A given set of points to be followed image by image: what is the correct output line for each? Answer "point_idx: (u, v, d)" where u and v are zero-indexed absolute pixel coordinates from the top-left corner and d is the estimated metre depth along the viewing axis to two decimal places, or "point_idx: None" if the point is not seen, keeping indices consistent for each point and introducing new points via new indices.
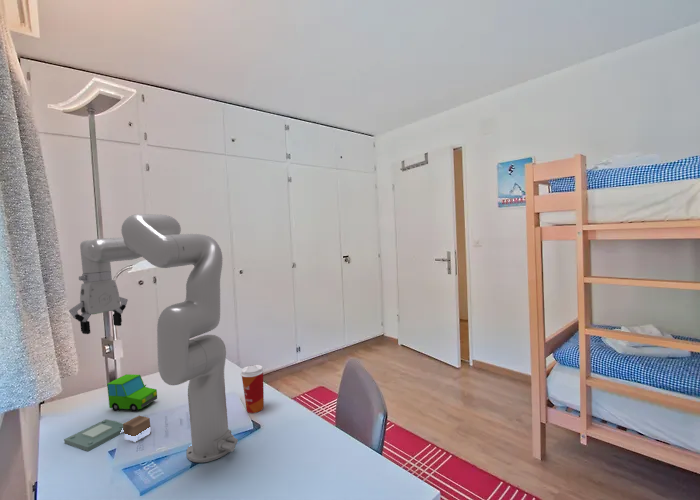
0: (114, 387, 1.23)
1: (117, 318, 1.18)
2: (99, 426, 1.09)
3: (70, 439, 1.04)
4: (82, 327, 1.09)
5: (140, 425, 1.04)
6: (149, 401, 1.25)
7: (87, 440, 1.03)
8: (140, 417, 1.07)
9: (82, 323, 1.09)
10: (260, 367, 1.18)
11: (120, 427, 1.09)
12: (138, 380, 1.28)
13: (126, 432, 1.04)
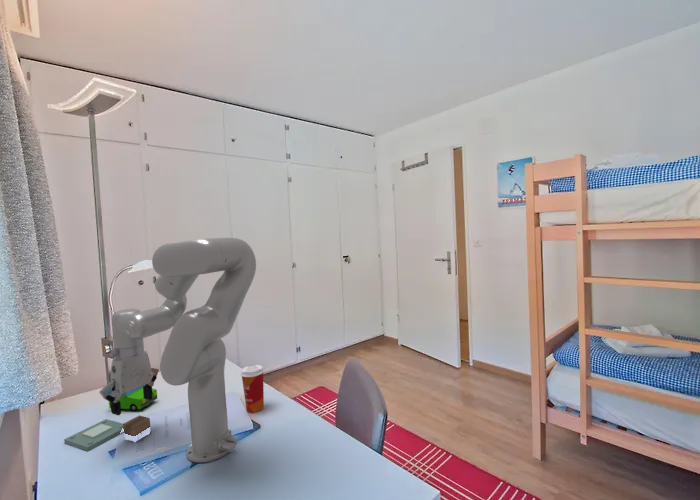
0: None
1: (148, 392, 1.09)
2: (99, 426, 1.09)
3: (70, 439, 1.04)
4: (112, 408, 1.00)
5: (140, 425, 1.04)
6: (149, 401, 1.25)
7: (87, 440, 1.03)
8: (140, 417, 1.07)
9: (112, 403, 1.00)
10: (260, 367, 1.18)
11: (120, 427, 1.09)
12: None
13: (126, 432, 1.04)
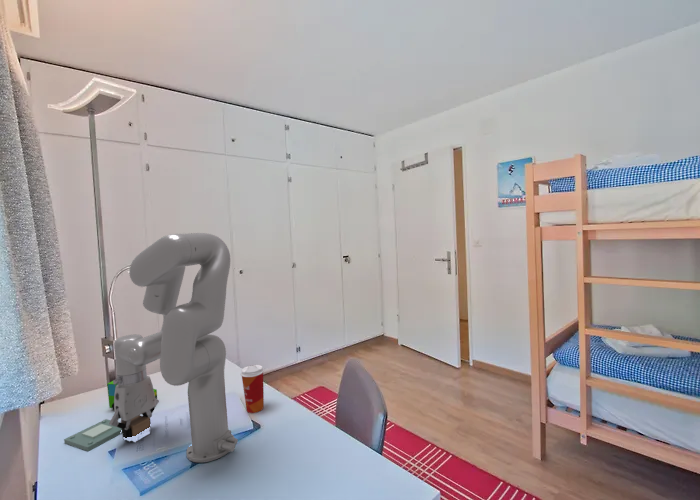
0: (114, 387, 1.23)
1: None
2: (99, 426, 1.09)
3: (70, 439, 1.04)
4: (124, 435, 1.02)
5: (140, 425, 1.04)
6: None
7: (87, 440, 1.03)
8: (140, 417, 1.07)
9: (124, 430, 1.02)
10: (260, 367, 1.18)
11: None
12: None
13: None
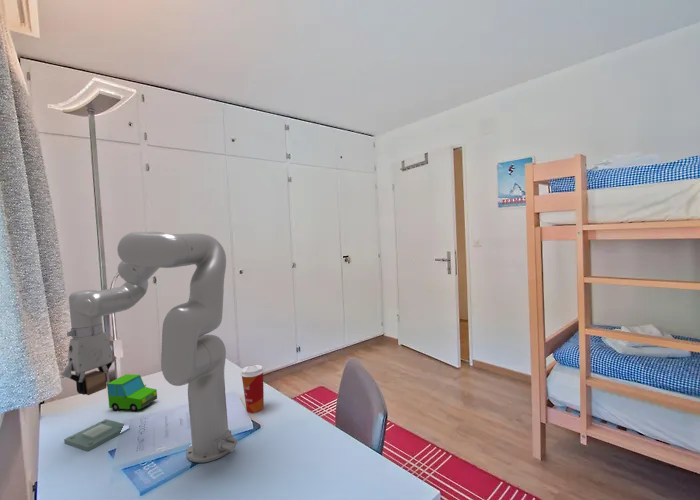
0: (114, 387, 1.23)
1: None
2: (99, 426, 1.09)
3: (70, 439, 1.04)
4: (78, 387, 1.03)
5: (95, 378, 1.05)
6: (149, 401, 1.25)
7: (87, 440, 1.03)
8: (96, 371, 1.08)
9: (78, 383, 1.03)
10: (260, 367, 1.18)
11: (120, 427, 1.09)
12: (138, 380, 1.28)
13: None
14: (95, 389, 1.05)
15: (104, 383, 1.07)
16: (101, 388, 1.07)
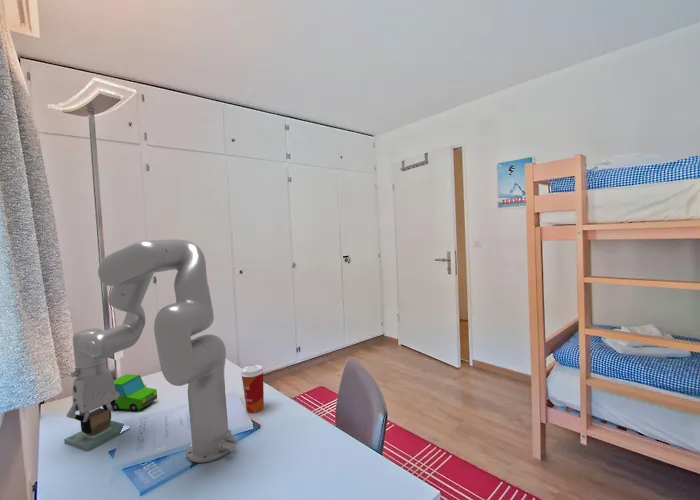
0: None
1: None
2: None
3: (70, 439, 1.04)
4: (82, 427, 1.04)
5: (99, 417, 1.06)
6: (149, 401, 1.25)
7: (87, 440, 1.03)
8: (100, 409, 1.09)
9: (82, 423, 1.03)
10: (260, 367, 1.18)
11: (120, 427, 1.09)
12: (138, 380, 1.28)
13: None
14: (99, 428, 1.06)
15: (108, 421, 1.08)
16: (105, 426, 1.07)
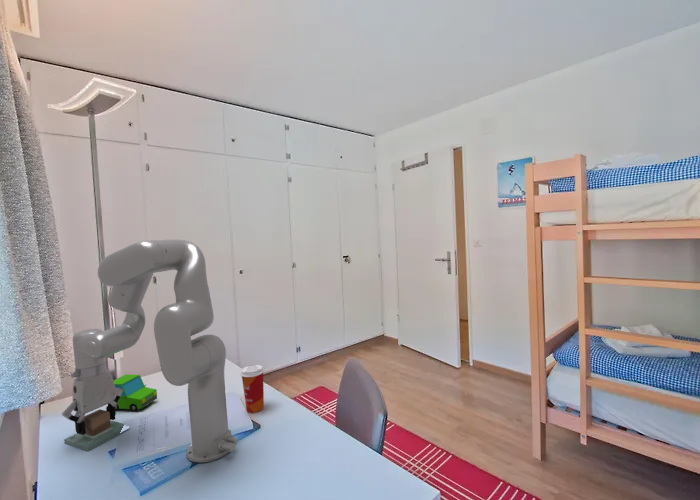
0: None
1: (111, 412, 1.10)
2: None
3: (70, 439, 1.04)
4: (77, 428, 1.02)
5: (99, 418, 1.06)
6: (149, 401, 1.25)
7: (87, 440, 1.03)
8: (100, 411, 1.09)
9: (77, 423, 1.02)
10: (260, 367, 1.18)
11: (120, 427, 1.09)
12: (138, 380, 1.28)
13: (85, 425, 1.05)
14: (100, 429, 1.06)
15: (108, 422, 1.08)
16: (106, 428, 1.07)
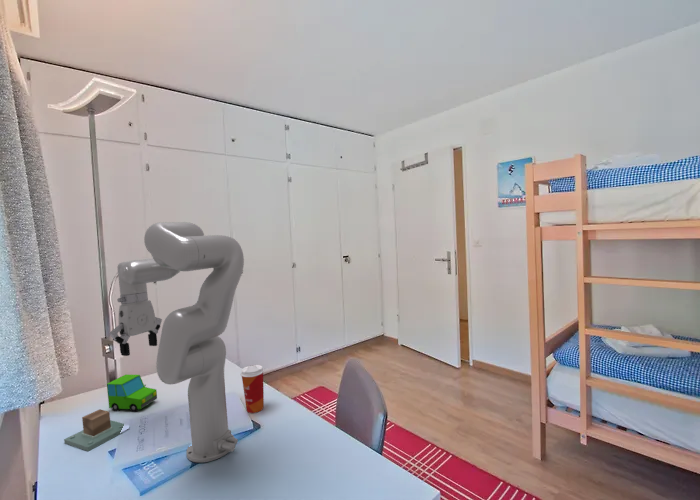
0: (113, 387, 1.22)
1: (153, 338, 1.18)
2: None
3: (70, 439, 1.04)
4: (122, 349, 1.09)
5: (99, 418, 1.06)
6: (149, 401, 1.25)
7: (87, 440, 1.03)
8: (100, 411, 1.09)
9: (121, 345, 1.09)
10: (260, 367, 1.18)
11: (120, 427, 1.09)
12: (138, 380, 1.28)
13: (85, 425, 1.05)
14: (100, 429, 1.06)
15: (108, 422, 1.08)
16: (106, 428, 1.07)
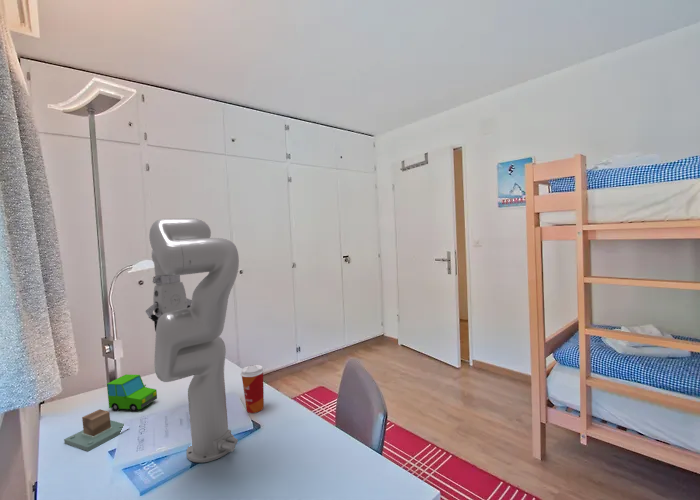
0: (114, 387, 1.23)
1: None
2: None
3: (70, 439, 1.04)
4: None
5: (99, 418, 1.06)
6: (149, 401, 1.25)
7: (87, 440, 1.03)
8: (100, 411, 1.09)
9: (156, 322, 1.15)
10: (260, 367, 1.18)
11: (120, 427, 1.09)
12: (138, 380, 1.28)
13: (85, 425, 1.05)
14: (100, 429, 1.06)
15: (108, 422, 1.08)
16: (106, 428, 1.07)
